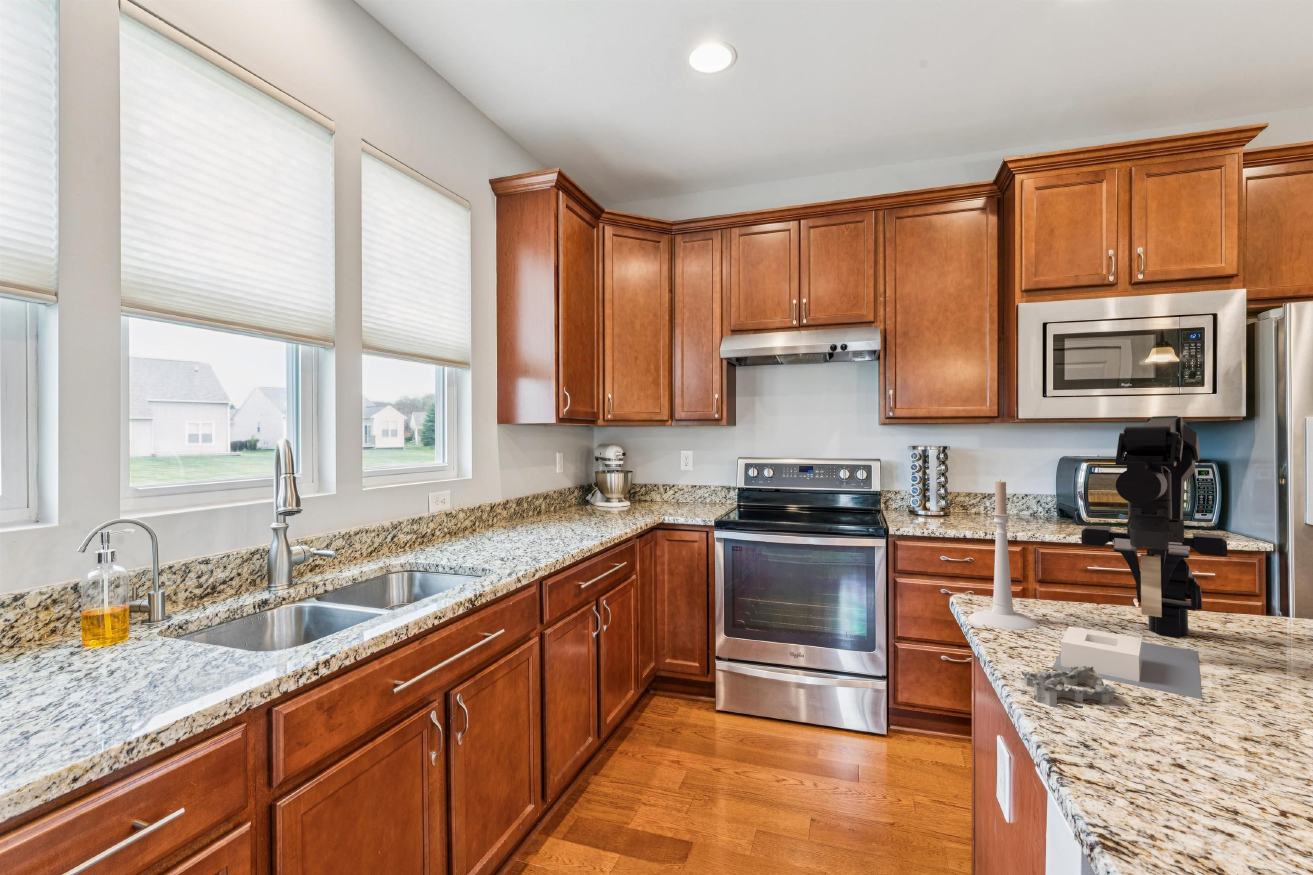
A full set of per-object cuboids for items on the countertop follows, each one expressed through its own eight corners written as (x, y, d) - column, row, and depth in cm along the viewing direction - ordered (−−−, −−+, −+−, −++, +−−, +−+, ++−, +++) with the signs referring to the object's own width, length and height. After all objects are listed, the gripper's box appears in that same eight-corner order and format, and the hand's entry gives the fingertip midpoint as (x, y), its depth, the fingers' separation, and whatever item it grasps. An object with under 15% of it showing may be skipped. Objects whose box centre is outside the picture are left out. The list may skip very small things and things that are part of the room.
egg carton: (1096, 692, 90) (1096, 665, 90) (1122, 715, 83) (1122, 686, 83) (1018, 685, 93) (1018, 659, 93) (1037, 707, 85) (1036, 679, 85)
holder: (1069, 648, 104) (1069, 626, 104) (1142, 662, 98) (1142, 638, 98) (1061, 665, 97) (1060, 641, 97) (1139, 681, 90) (1138, 655, 90)
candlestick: (1000, 638, 113) (997, 482, 113) (954, 618, 126) (951, 478, 126) (1056, 632, 116) (1053, 480, 116) (1005, 613, 129) (1002, 476, 129)
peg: (1142, 610, 102) (1140, 546, 102) (1161, 613, 100) (1160, 548, 101) (1141, 614, 100) (1140, 548, 100) (1161, 617, 99) (1160, 550, 99)
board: (1071, 635, 114) (1071, 629, 114) (1197, 656, 102) (1197, 651, 102) (1052, 674, 96) (1051, 668, 96) (1201, 705, 84) (1201, 698, 84)
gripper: (1076, 500, 101) (1078, 591, 100) (1229, 507, 88) (1231, 611, 88) (1084, 494, 109) (1085, 579, 109) (1224, 500, 97) (1225, 595, 97)
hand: (1151, 590), depth 100 cm, fingers closed on peg, 3 cm apart
